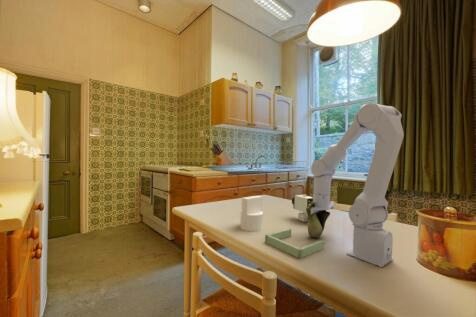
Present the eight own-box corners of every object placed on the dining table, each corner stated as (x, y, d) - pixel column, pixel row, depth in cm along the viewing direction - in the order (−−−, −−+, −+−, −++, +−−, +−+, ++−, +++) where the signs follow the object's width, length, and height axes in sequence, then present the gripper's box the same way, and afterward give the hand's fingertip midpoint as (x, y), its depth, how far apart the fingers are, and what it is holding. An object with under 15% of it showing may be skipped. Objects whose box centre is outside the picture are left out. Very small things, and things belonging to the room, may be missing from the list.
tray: (323, 248, 69) (324, 241, 69) (299, 258, 62) (300, 250, 62) (289, 234, 81) (289, 228, 81) (265, 242, 73) (265, 234, 73)
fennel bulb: (317, 229, 82) (311, 199, 80) (327, 234, 78) (321, 203, 76) (305, 236, 80) (299, 205, 78) (314, 241, 76) (308, 209, 74)
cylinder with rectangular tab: (251, 232, 82) (252, 200, 82) (235, 226, 89) (236, 196, 88) (267, 228, 88) (268, 197, 88) (251, 222, 95) (252, 194, 94)
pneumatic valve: (310, 225, 93) (311, 196, 92) (290, 218, 103) (291, 192, 103) (319, 223, 95) (320, 196, 95) (299, 216, 105) (300, 191, 105)
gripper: (323, 190, 88) (321, 223, 89) (299, 193, 79) (298, 230, 80) (340, 193, 82) (338, 229, 83) (317, 197, 74) (315, 237, 74)
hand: (319, 230), depth 81 cm, fingers closed, pressing on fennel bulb
